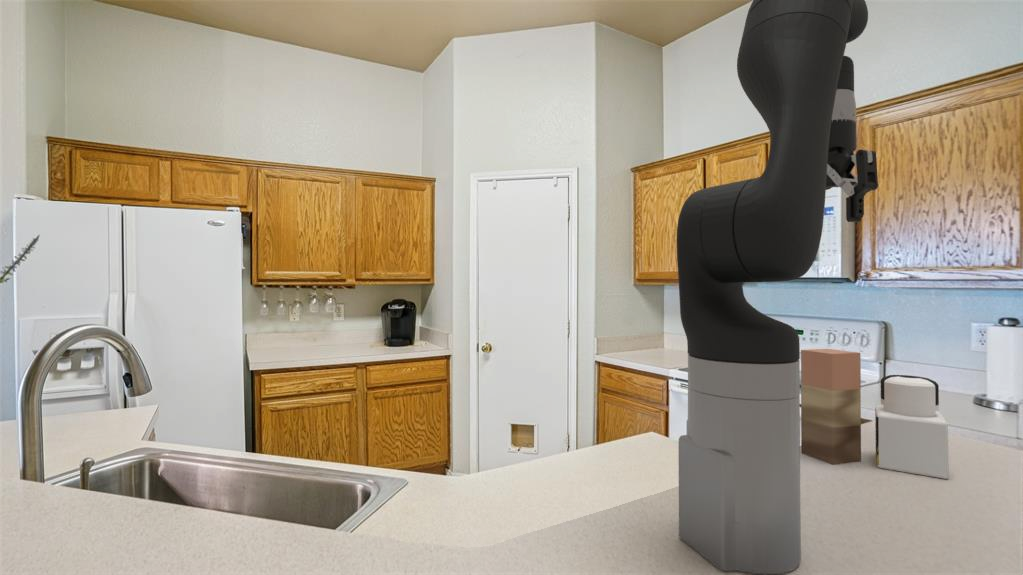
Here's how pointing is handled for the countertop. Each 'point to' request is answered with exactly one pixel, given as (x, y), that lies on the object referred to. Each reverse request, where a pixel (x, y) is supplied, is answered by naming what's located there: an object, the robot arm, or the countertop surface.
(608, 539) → the countertop surface
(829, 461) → the tower bottom
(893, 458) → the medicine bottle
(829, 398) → the tower top
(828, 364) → the clay block
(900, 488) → the countertop surface
